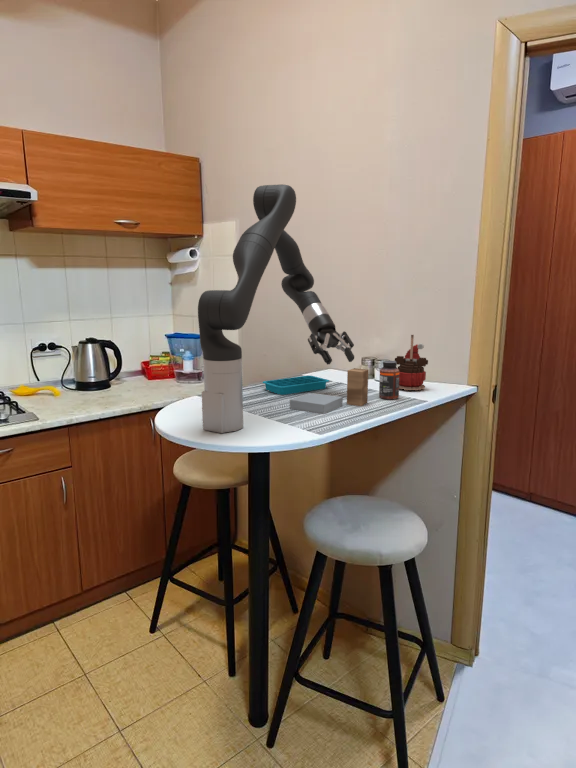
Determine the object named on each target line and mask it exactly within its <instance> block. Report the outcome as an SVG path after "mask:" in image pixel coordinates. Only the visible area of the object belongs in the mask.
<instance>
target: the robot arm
mask: <svg viewBox="0 0 576 768" xmlns="http://www.w3.org/2000/svg"><path fill="white" fill-rule="evenodd" d="M252 197H253V198H252V201H253V202H252V203H253V208H254V213H255V214H256V218H257V219H258V221H257V222H255V223H254V224H252V225H250V226H249V227H248V228H247V229H246V230H245V231H244V232H243V233H242V234H241V236H240V238H239V239H238V242H237V243H236V245H235V247H234V249H233V253H232V263H233V266H234V269H235V272H236V274H237V277H238V280H237V282H236V285H235V286H234V287H233V288H232V289H230V290H225V289H223V290H222V289H221V290H220V289H217V290H215V289H213V290H210V289H209V290H205V291H204V292H202V293H201V294H200V296H199V300H198V305H197V319H198V321H197V323H198V330H199V341H200V343H199V344H200V348H201V351H202V358H203V385H204V387H203V388H204V389H203V390H202V391H201V411H202V413H201V414H202V415H201V416H202V430H203V431H204V430H205V431H209V432H214V433H219V434H224V433H228V432H229V433H230V432H235V431H240V430H241V429H243V428H244V405H243V404H244V399H243V397H244V396H243V349H242V347H241V346H240V345H239V344H237V343H235V342H233V341H231V340H229V338H227V337H226V336H225V335H224V332H223V331H237V330H240V329H242V328H243V327H244V325H245V323H247V320H248V317H249V315H250V313H251V312H250V311H251V308H252V305H253V302H254V299H255V296H256V293H257V290H258V286H259V284H260V282H261V279H262V277H263V274H264V273H265V271H266V268H267V266H268V265H269V262H270V260H271V258H272V255H273V254H274V250H275V252H276V255H277V258H278V261H279V265H280V267H281V270H282V272H283V273H284V274H286V276H284V277H283V278H282V280H281V289H282V290H283V292H284V293H285V295H286V296H287V297H288V298H290V299H291V300H292V301H293V302H294V304H296V306H297V307H298V309H299V310H300V312H301V315H302V316H303V319H304V322H305V323H306V325H307V327H308V329H309V330H310V333H311V334H310V335H309V336H308V338H307V342H308V344H309V346H310V348H311V351H312V352H313V354H314V355H317V354H319V356H321V357H322V359H323V361H324V363H325V364H326V365H331V364H332V362H333V359H332V356H331V355H330V353H329V351H328V350H327V349H330V348H335V349H336V350H338V351H341V352H343V353H344V356H345V358H346V359H347V361H348V362H349V363H352V362H353V361H354V360H355V355H354V353H353V351H352V349H353V347H354V346H355V344H354V342H353V341H352V339H351V338H350V337H349V334H348V333H347V332H346V330H345V331H342V332H341V333H339V332H337V330H336V325H335V322H334V321H333V319H332V317H331V316H330V314H329V312H328V309H326V307H325V306H324V305H323V303H322V302H321V300H320V297H319V296H318V294H317V293H316V292H315V291H314V290H313V291H312V288H313V286H314V284H315V279H314V277H313V275H312V273H311V271H310V270H309V269H308V267H307V266H306V265H305V263H304V261H303V257H302V254H301V250H300V247H299V245H298V243H297V242H296V240H295V239H294V238H293V237H292V236H291V235H290V234H289V233H288V232H287V231H286V230H285V229H286V227H287V225H289V222H290V221H291V219H292V217H293V215H294V213H295V209H296V204H297V194H296V191H295V189H294V188H293V187H292V186H291V185H288V184H284V183H283V184H264V185H259V186H257V187H256V189H255V190H254V192H253V196H252ZM339 343H340V344H339Z"/></svg>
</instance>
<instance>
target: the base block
mask: <svg viewBox="0 0 576 768" xmlns="http://www.w3.org/2000/svg"><path fill="white" fill-rule="evenodd" d="M343 398H344V397H343V396H337V395H329V394H323V393H321V394H320V393H313V392H308V393H305V394H302V395H300V396H296V397H294V398H291V399H289V409H291V410H296V411H301V412H308V411H309V412H308V413H314V412H315V414H322V415H325V414H327V413H330V412H332V411H334V410H336V409H338V408H340V407H343V401H344V399H343Z"/></svg>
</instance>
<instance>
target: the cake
mask: <svg viewBox="0 0 576 768" xmlns="http://www.w3.org/2000/svg"><path fill="white" fill-rule="evenodd" d="M414 338H415V336H414V334H410V348H409V349H408V350H407V351H406V353H405V355H404V356H403V355H397V356H396V357H395V358H394V361H396V365H399V366H397V368H398V369H399V390H402V389H404V390H403V391H408V390H415V391H418V390H419V391H420V390H424V389H425V388H426V385H425V384H424V381H426V377H427V375H426V373H427V372H426V371H425V367H426V366H427V365H428V364H429V360H428V359H427V357H421V356H420V353H419V350H423V349H424V347H425V345H424V343H417V344H414V340H415V339H414Z"/></svg>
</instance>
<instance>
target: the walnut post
mask: <svg viewBox="0 0 576 768" xmlns="http://www.w3.org/2000/svg"><path fill="white" fill-rule="evenodd" d="M346 377H347V380H346V381H347V382H346V383H347V385H346V405H349V406H350V405H351V406H357V407H362V406H365V405H366V403H367V404H368V395H369V394H368V393H369V392H368V391H369V390H368V389H369V369H367V368H365V369H364V368H358V367H357V368H356V367H353V368H351V369H348V370H347V374H346ZM364 404H365V405H364Z"/></svg>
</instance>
